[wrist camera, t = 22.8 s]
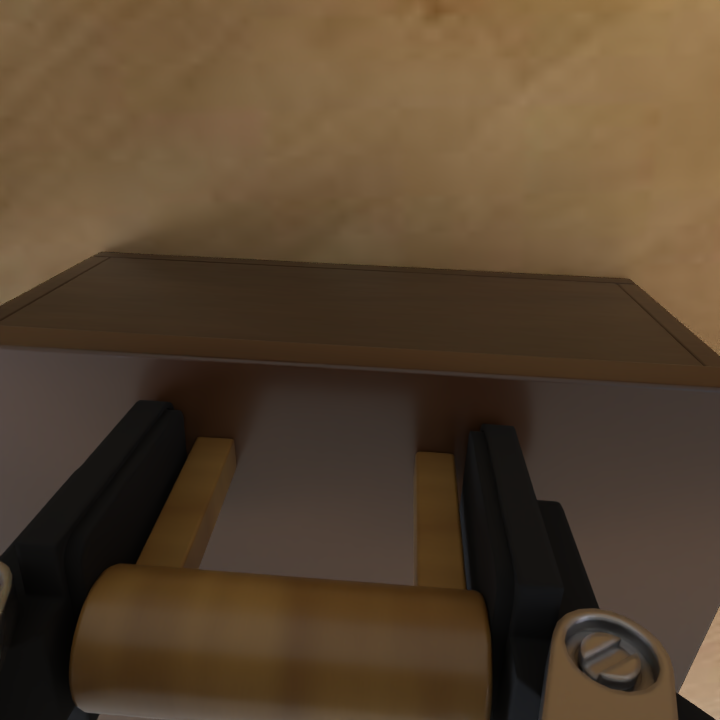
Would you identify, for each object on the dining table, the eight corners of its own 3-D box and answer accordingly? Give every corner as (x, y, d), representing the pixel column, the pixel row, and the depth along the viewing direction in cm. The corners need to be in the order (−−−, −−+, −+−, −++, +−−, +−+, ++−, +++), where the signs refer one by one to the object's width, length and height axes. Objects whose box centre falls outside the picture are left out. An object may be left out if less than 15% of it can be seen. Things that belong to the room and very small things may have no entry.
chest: (100, 251, 19) (-39, 324, 13) (630, 278, 19) (738, 370, 13) (144, 579, 25) (60, 738, 19) (558, 611, 24) (610, 788, 18)
